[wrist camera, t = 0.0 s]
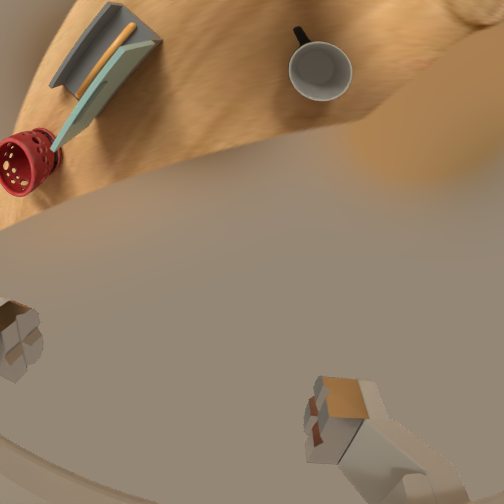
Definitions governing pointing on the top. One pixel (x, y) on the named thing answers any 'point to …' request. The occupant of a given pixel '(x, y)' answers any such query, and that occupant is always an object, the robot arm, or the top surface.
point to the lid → (101, 90)
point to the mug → (319, 69)
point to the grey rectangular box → (102, 48)
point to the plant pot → (28, 160)
